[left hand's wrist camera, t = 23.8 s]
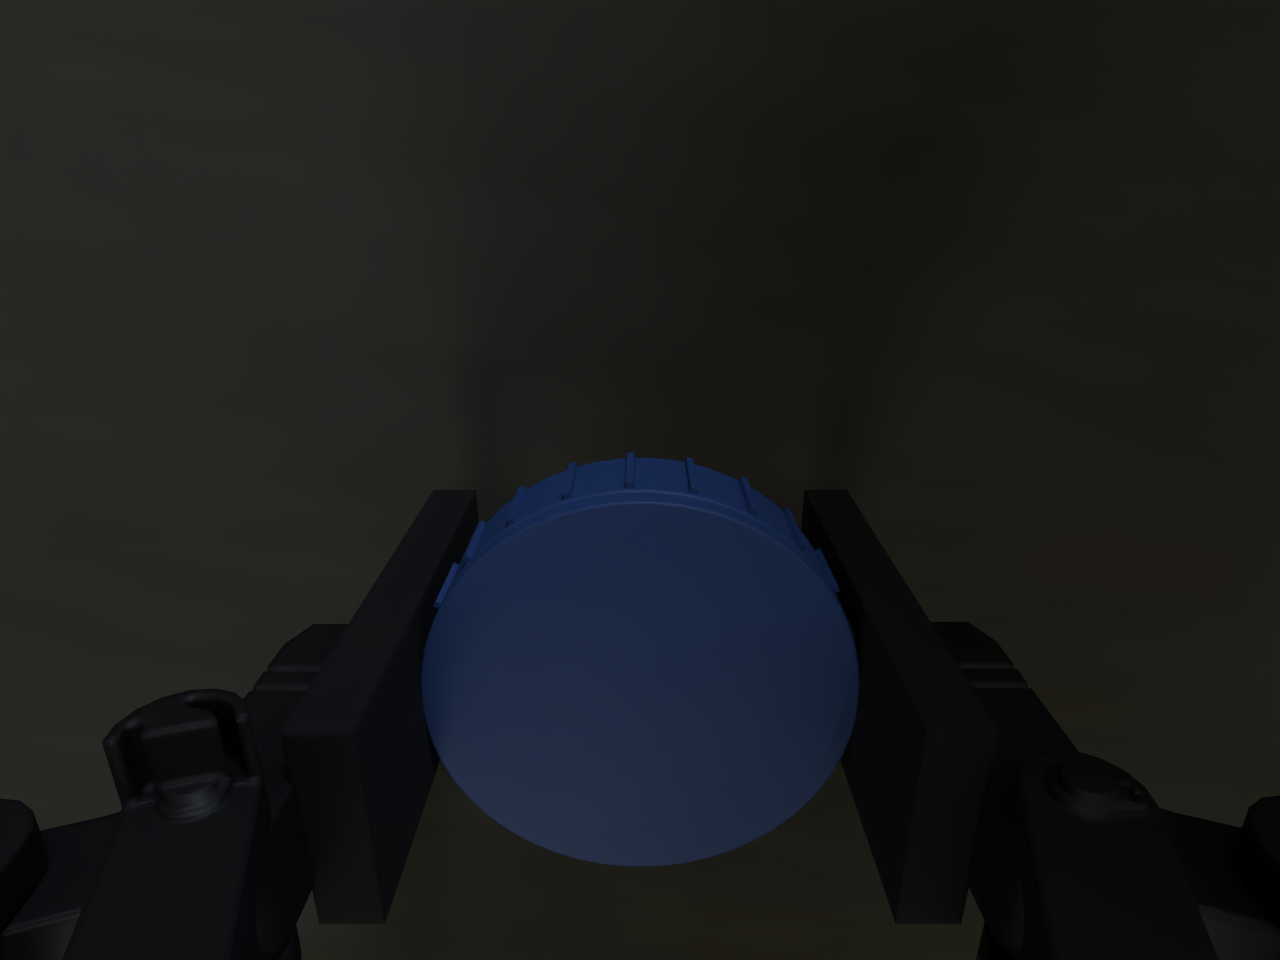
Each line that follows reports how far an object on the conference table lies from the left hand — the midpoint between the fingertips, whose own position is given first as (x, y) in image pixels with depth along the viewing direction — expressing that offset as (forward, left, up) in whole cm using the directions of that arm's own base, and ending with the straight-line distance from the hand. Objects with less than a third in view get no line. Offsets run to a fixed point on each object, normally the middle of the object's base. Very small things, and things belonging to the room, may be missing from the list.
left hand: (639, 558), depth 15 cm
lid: (0, 0, +4) cm, 4 cm away
